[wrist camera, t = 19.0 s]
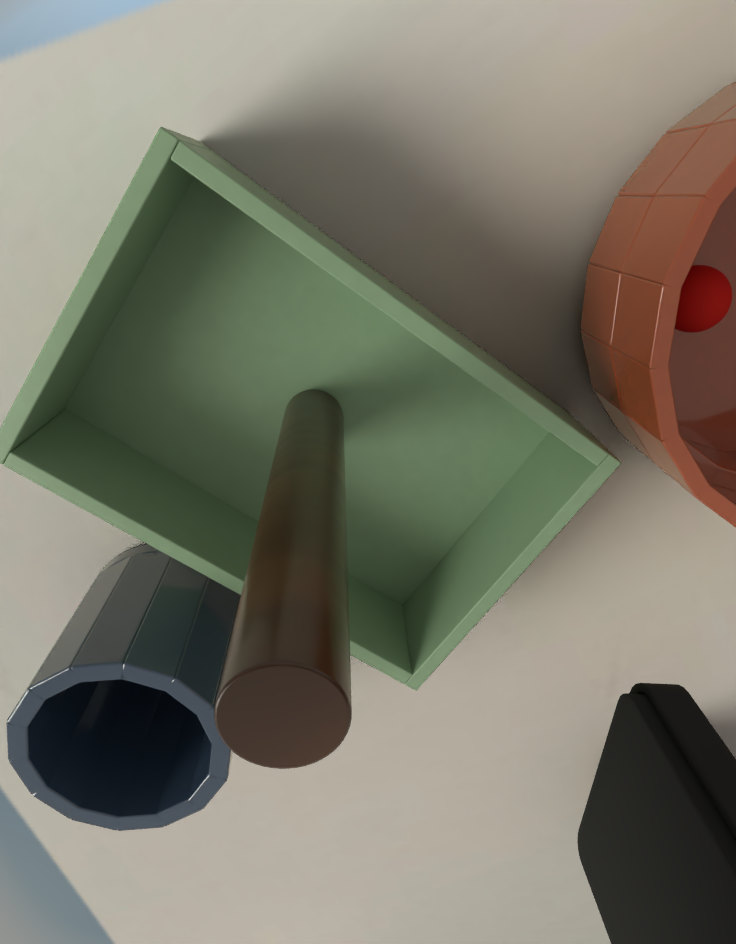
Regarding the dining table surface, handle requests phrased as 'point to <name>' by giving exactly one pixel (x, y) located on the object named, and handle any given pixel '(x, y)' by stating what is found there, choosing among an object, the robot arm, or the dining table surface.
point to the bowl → (671, 306)
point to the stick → (294, 603)
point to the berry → (703, 299)
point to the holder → (130, 698)
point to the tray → (265, 400)
